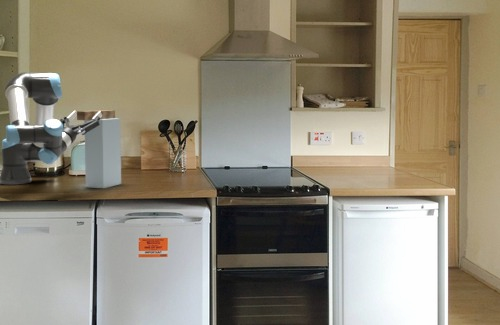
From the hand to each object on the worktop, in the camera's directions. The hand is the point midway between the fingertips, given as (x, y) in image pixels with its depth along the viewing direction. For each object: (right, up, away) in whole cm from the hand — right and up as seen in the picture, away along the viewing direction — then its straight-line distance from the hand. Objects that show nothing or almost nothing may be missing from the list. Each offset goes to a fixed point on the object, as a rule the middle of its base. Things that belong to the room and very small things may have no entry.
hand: (88, 113), depth 273 cm
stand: (+3, -35, +16) cm, 38 cm away
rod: (+2, -2, +7) cm, 8 cm away
